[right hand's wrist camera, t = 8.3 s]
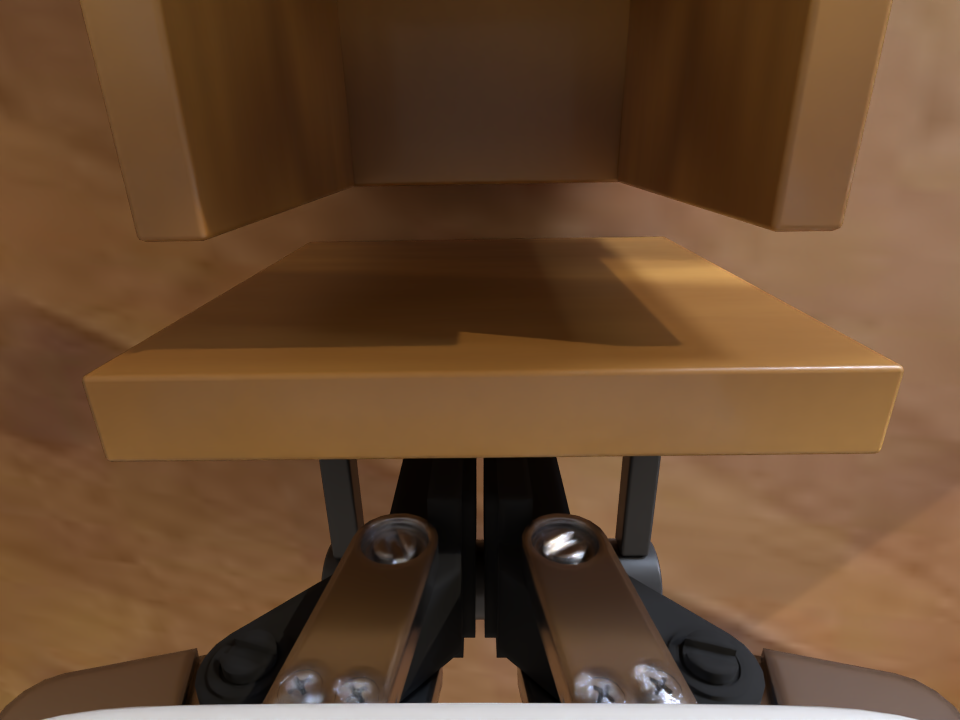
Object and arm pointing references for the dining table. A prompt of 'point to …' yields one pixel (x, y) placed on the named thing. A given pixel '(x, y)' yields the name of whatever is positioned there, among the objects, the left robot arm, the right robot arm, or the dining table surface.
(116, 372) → the drawer
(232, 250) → the dining table surface
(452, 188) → the dining table surface
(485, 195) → the dining table surface
